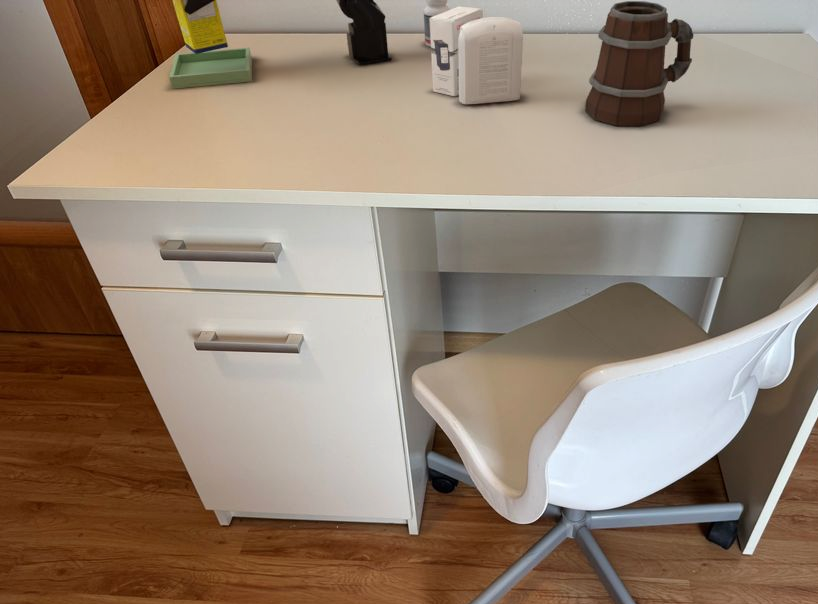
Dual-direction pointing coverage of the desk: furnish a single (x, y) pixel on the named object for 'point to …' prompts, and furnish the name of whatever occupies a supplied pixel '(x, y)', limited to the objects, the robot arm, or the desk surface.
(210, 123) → the desk surface
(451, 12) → the ink box
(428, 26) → the pill bottle
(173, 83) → the green tray
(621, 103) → the mug
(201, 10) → the supplement box
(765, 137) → the desk surface
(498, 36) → the white rounded box
